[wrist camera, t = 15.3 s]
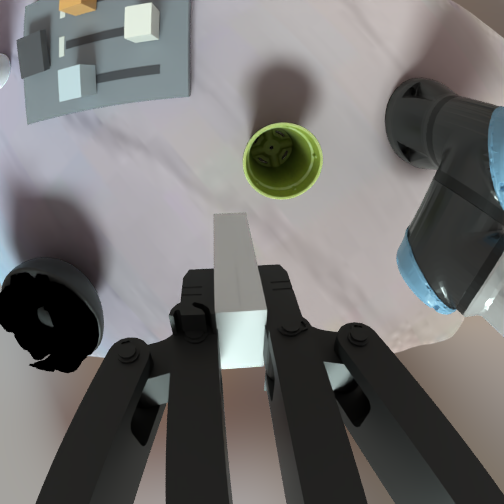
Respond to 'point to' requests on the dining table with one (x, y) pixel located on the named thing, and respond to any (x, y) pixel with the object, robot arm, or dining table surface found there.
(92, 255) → the dining table surface
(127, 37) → the slider cream
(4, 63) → the foam cup
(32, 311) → the bowl of black rocks
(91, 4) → the slider orange
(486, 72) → the dining table surface
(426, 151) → the robot arm
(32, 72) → the block
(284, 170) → the plant pot
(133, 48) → the panel
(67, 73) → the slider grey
